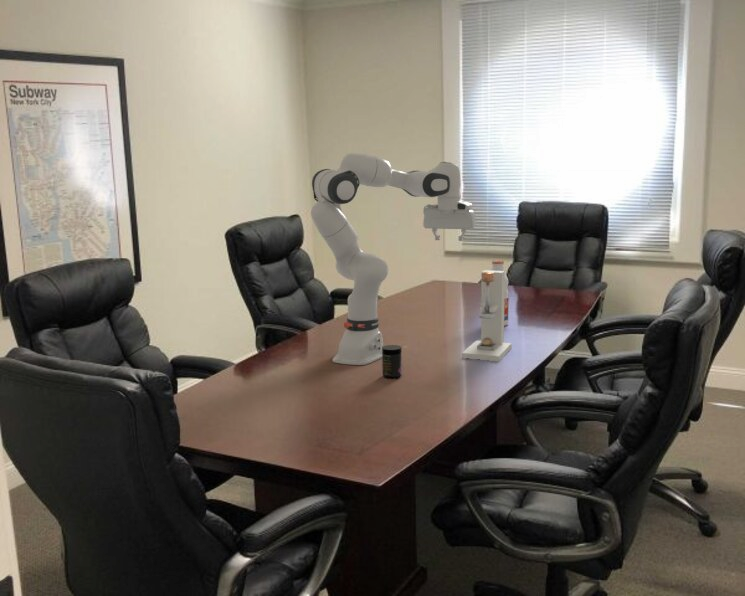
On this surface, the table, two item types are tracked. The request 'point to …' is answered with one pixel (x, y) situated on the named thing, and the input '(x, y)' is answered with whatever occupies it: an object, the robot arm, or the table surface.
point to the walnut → (487, 342)
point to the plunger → (487, 295)
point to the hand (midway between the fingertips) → (449, 240)
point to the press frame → (491, 323)
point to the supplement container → (391, 361)
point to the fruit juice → (499, 267)
